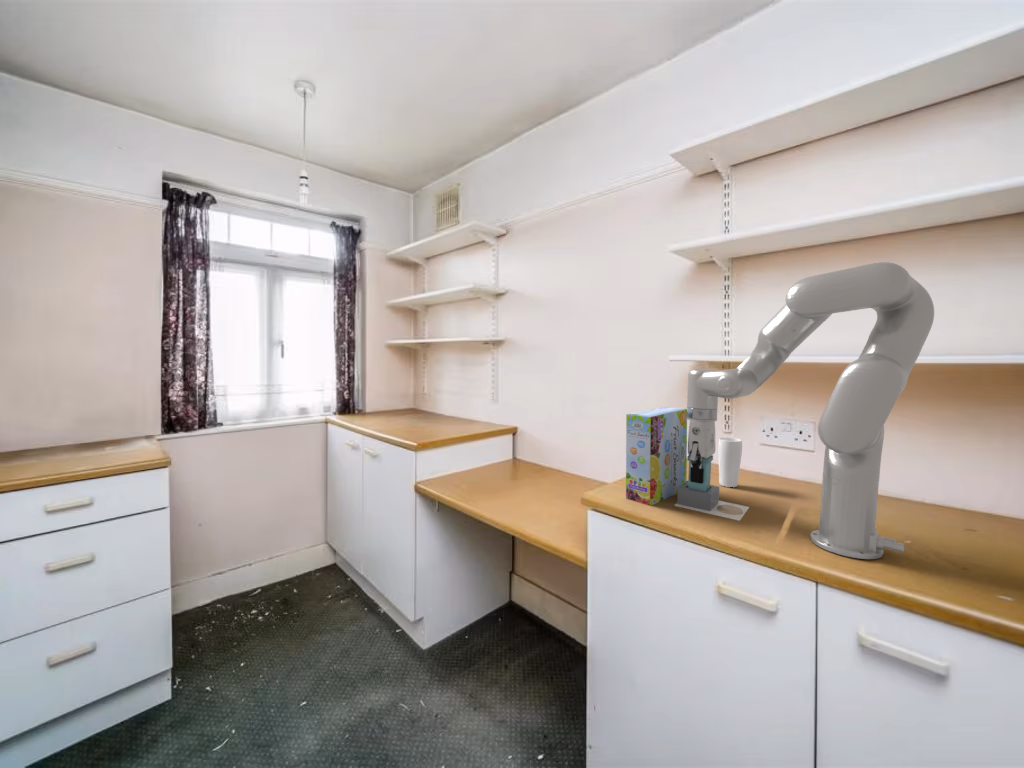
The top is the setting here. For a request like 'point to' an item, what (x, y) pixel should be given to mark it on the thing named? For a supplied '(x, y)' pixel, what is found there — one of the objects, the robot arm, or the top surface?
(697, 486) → the plug
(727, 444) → the drinking glass
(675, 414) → the snack box
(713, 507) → the board
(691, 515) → the top surface
